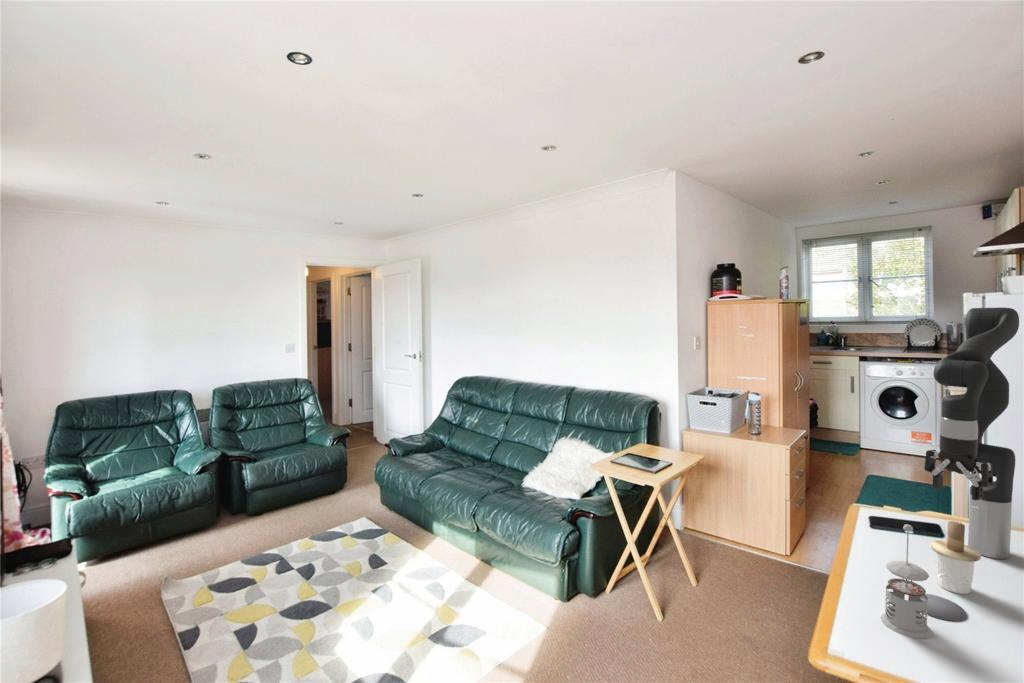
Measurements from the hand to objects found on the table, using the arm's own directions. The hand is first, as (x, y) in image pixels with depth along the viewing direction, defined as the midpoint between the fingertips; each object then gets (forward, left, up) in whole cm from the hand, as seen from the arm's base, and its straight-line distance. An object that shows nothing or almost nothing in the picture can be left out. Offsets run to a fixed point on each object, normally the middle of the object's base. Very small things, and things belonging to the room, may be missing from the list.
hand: (956, 494), depth 132 cm
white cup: (0, 0, -26) cm, 26 cm away
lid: (0, 0, -16) cm, 16 cm away
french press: (+28, +5, -26) cm, 38 cm away
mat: (+14, +4, -26) cm, 30 cm away
